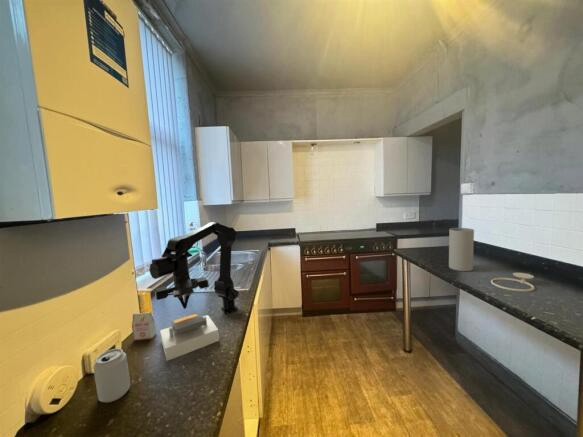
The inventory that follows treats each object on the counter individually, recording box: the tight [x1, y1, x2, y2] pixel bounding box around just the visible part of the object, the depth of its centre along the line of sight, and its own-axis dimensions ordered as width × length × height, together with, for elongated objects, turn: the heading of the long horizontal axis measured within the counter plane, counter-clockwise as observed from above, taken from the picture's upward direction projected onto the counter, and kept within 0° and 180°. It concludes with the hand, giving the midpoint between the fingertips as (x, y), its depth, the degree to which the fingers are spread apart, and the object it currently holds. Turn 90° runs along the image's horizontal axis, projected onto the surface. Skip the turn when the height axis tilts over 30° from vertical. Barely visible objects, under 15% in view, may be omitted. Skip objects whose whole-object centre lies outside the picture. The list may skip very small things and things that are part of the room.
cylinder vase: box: [448, 227, 475, 272], centre depth 153 cm, size 12×12×25 cm
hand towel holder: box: [490, 272, 536, 293], centre depth 127 cm, size 17×4×20 cm
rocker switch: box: [170, 313, 206, 334], centre depth 93 cm, size 14×10×2 cm
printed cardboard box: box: [131, 312, 157, 341], centre depth 98 cm, size 4×7×10 cm, turn 94°
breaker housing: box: [159, 314, 220, 362], centre depth 93 cm, size 14×18×8 cm
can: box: [92, 348, 131, 403], centre depth 69 cm, size 8×8×12 cm
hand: (184, 308), depth 97 cm, fingers closed
